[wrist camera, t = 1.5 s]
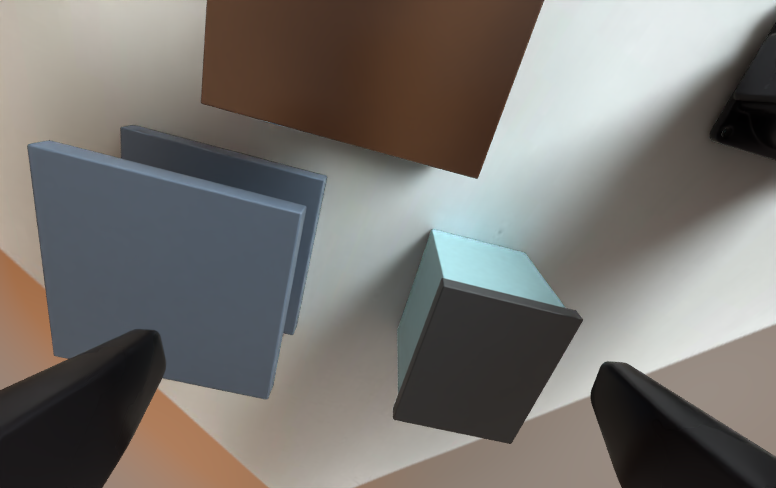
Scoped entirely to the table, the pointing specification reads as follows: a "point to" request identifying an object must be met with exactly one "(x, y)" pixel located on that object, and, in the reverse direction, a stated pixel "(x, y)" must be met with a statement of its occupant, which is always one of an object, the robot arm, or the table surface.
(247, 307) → the blue-grey square pedestal
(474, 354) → the container
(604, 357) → the table surface
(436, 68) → the brown square pedestal
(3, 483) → the robot arm
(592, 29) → the table surface
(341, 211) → the table surface
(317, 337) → the table surface
